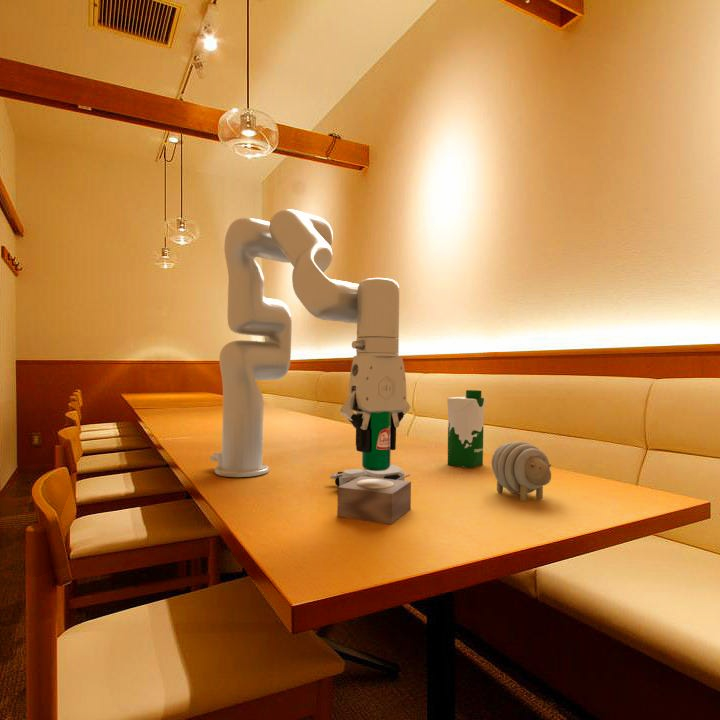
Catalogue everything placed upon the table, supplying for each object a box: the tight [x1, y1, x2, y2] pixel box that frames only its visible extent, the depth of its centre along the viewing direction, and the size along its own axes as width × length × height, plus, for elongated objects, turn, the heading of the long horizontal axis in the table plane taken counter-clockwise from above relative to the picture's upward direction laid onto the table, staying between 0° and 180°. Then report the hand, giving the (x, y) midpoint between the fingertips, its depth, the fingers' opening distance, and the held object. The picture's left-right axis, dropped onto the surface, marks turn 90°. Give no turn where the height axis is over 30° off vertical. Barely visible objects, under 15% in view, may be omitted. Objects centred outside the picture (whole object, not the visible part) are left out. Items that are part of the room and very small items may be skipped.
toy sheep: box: [491, 441, 552, 503], centre depth 104 cm, size 11×17×11 cm, turn 25°
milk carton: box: [446, 389, 486, 469], centre depth 135 cm, size 9×9×20 cm
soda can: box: [361, 412, 392, 471], centre depth 90 cm, size 5×5×12 cm
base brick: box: [336, 476, 412, 525], centre depth 90 cm, size 10×10×5 cm
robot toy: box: [329, 463, 411, 487], centre depth 107 cm, size 12×4×15 cm
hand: (376, 449), depth 90 cm, fingers closed on soda can, 5 cm apart
